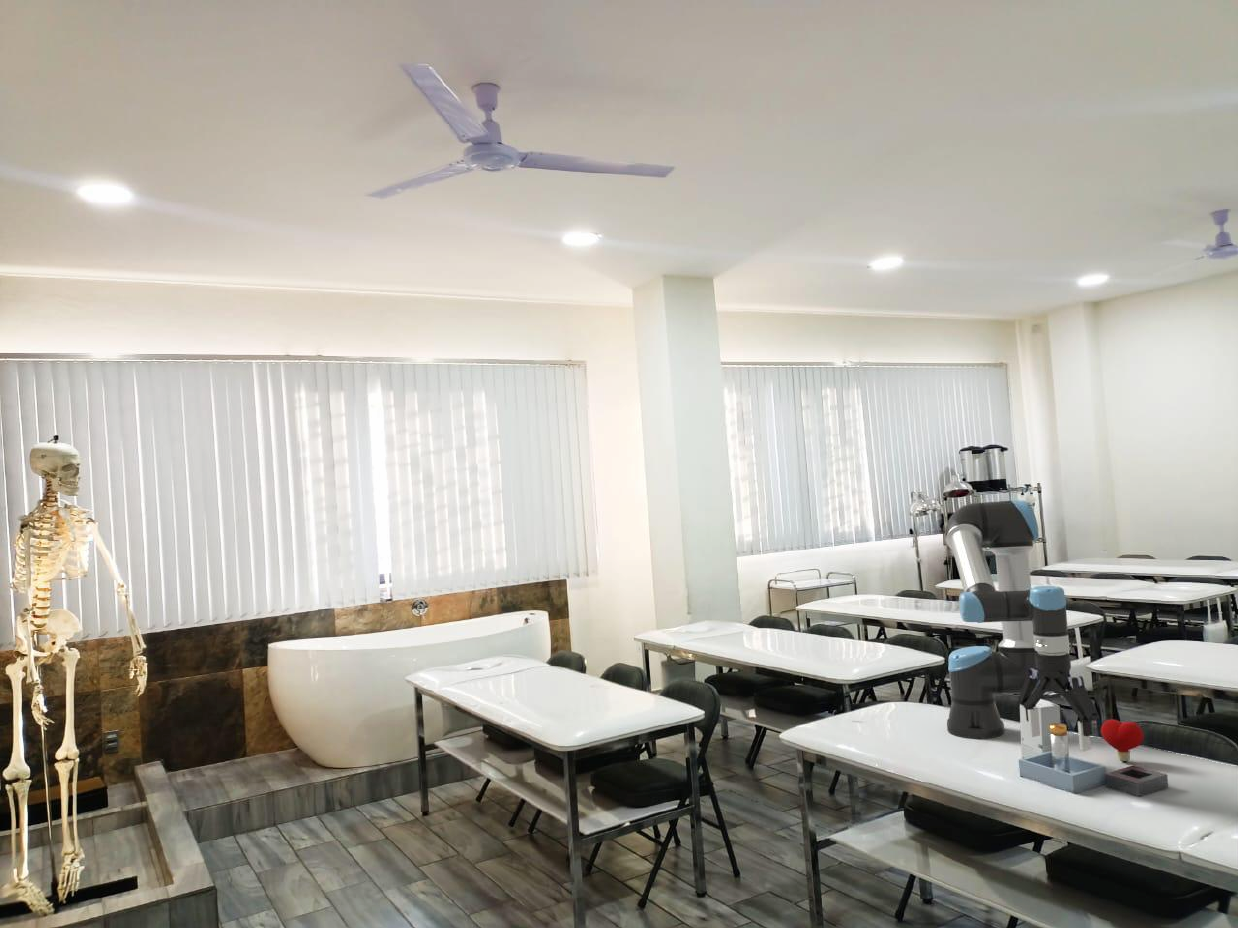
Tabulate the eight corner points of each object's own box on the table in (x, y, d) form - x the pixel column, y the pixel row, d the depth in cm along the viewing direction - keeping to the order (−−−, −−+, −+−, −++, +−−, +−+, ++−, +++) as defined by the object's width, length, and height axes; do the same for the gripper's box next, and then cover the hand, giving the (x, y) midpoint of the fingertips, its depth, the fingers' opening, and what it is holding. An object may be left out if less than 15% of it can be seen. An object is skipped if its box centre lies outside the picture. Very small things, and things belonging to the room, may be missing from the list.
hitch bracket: (1105, 786, 200) (1104, 773, 200) (1134, 777, 204) (1133, 765, 204) (1139, 796, 193) (1138, 783, 193) (1168, 787, 197) (1167, 774, 197)
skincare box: (1021, 757, 224) (1016, 699, 224) (1041, 754, 225) (1036, 696, 226) (1044, 767, 216) (1039, 706, 216) (1065, 763, 217) (1060, 703, 218)
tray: (1020, 776, 211) (1018, 759, 211) (1052, 767, 215) (1050, 750, 215) (1073, 793, 197) (1072, 775, 197) (1107, 783, 202) (1105, 766, 202)
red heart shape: (1099, 762, 216) (1095, 721, 217) (1108, 754, 221) (1104, 715, 222) (1141, 769, 210) (1137, 727, 210) (1149, 761, 215) (1146, 720, 215)
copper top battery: (1050, 775, 207) (1045, 724, 208) (1060, 772, 209) (1056, 722, 209) (1063, 779, 204) (1059, 728, 204) (1074, 776, 205) (1069, 725, 206)
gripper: (997, 647, 217) (1004, 733, 216) (1088, 662, 194) (1097, 758, 194) (1019, 643, 220) (1026, 728, 219) (1111, 657, 197) (1119, 752, 197)
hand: (1059, 742), depth 207 cm, fingers open, 13 cm apart
